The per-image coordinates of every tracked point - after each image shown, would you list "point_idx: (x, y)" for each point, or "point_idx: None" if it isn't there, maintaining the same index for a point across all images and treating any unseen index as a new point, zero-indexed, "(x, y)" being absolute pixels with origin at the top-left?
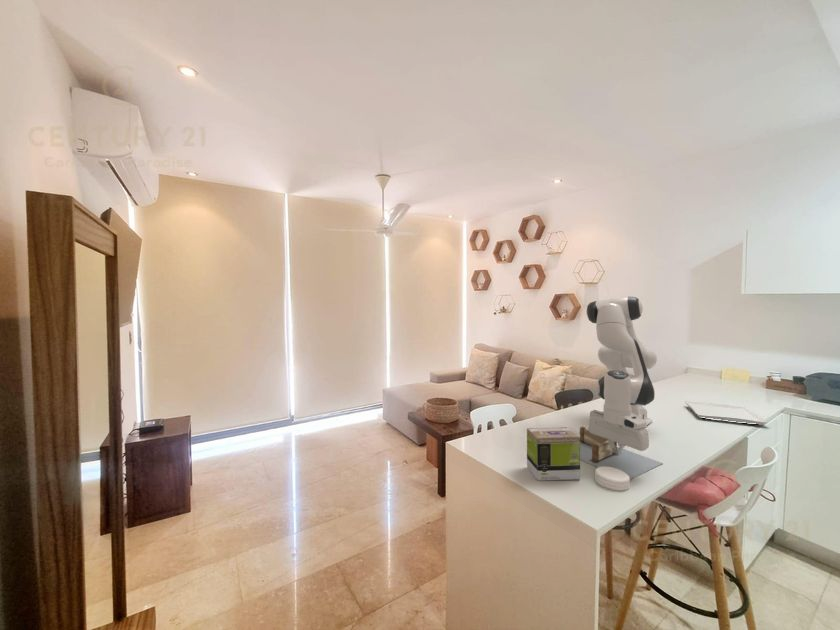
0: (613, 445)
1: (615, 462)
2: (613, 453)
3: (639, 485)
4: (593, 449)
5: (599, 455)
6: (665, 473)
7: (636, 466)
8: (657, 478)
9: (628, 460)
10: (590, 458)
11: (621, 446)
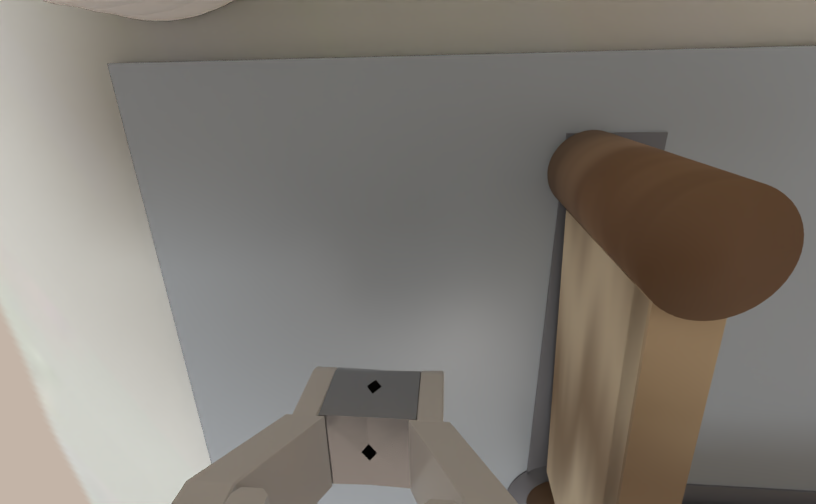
0: (427, 492)
1: (435, 348)
2: (543, 492)
3: (6, 74)
4: (691, 164)
5: (582, 263)
6: (137, 479)
7: None
8: (87, 360)
9: None
10: None
11: (189, 490)
